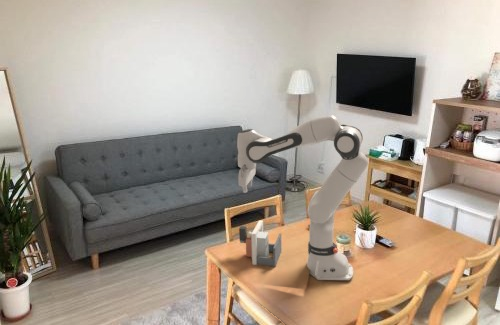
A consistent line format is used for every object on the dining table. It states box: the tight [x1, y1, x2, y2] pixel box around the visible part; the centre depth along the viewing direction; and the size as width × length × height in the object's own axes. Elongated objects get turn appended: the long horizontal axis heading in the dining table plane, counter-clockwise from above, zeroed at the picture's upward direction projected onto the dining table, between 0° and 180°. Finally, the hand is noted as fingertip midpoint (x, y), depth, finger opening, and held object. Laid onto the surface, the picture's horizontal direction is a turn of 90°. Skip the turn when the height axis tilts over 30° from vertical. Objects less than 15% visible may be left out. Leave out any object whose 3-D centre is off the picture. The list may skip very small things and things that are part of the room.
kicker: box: [238, 225, 253, 258], centre depth 196 cm, size 7×5×14 cm
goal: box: [251, 220, 282, 268], centre depth 193 cm, size 12×16×16 cm
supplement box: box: [251, 231, 270, 257], centre depth 194 cm, size 7×7×13 cm
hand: (247, 189), depth 191 cm, fingers open, 8 cm apart
